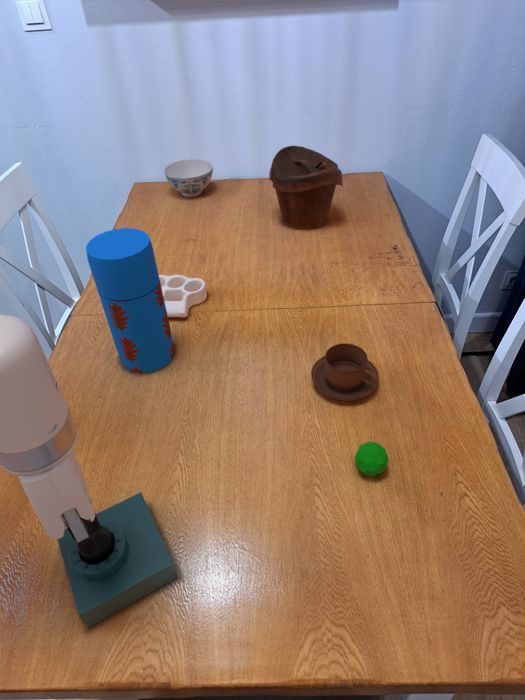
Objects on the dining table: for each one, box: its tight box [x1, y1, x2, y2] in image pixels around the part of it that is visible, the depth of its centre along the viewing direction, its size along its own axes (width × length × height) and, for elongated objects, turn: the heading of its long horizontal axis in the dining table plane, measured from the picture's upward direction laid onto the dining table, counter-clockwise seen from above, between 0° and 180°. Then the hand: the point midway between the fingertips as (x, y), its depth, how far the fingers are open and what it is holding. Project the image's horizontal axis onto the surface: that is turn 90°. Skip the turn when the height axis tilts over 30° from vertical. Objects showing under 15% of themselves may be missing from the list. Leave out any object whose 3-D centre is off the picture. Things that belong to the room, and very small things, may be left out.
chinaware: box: [163, 158, 214, 198], centre depth 152 cm, size 15×15×8 cm
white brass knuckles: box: [159, 274, 208, 318], centre depth 110 cm, size 3×18×15 cm
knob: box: [77, 525, 114, 563], centre depth 61 cm, size 4×4×2 cm
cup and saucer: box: [310, 343, 380, 402], centre depth 87 cm, size 12×12×6 cm
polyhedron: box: [354, 441, 390, 477], centre depth 74 cm, size 5×5×5 cm
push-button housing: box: [56, 491, 179, 629], centre depth 64 cm, size 12×12×6 cm
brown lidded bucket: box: [268, 145, 344, 230], centre depth 132 cm, size 18×20×18 cm
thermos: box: [85, 227, 175, 374], centre depth 89 cm, size 11×11×25 cm
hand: (86, 529), depth 59 cm, fingers closed
